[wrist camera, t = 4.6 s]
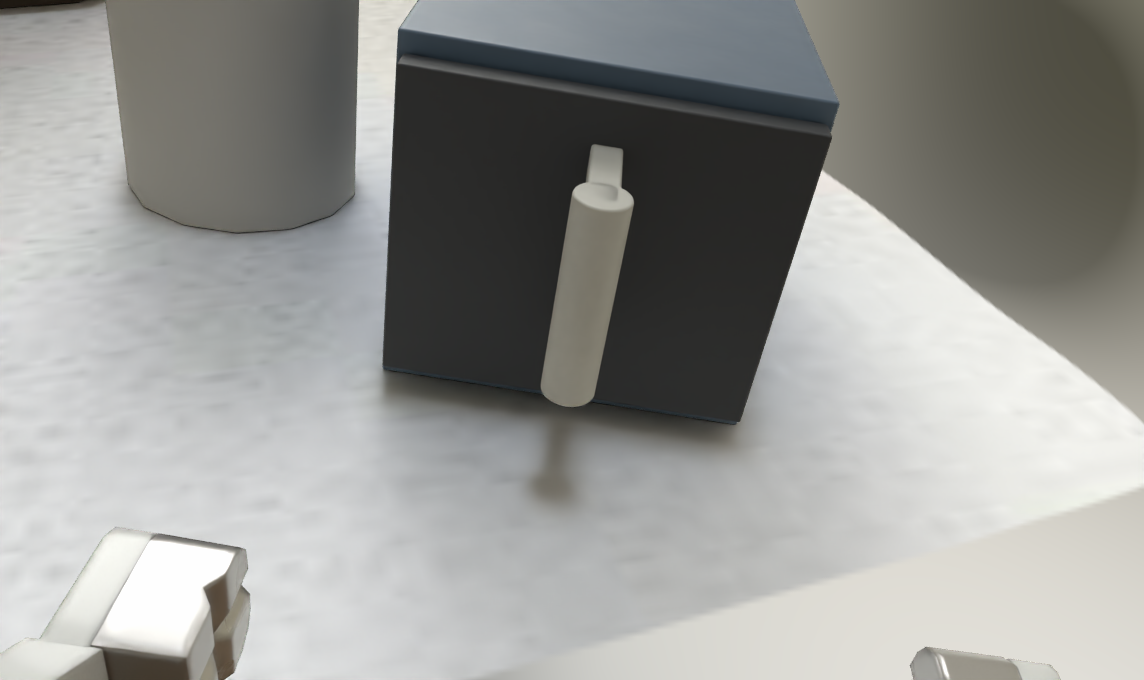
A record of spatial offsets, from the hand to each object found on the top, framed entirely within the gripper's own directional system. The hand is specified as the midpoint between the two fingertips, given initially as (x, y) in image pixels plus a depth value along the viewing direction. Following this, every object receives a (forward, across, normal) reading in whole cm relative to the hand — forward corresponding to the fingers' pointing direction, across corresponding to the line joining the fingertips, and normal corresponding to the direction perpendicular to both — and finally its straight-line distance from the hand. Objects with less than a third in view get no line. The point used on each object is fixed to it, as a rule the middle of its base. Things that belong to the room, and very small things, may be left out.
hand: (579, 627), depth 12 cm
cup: (+26, +13, +9) cm, 31 cm away
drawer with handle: (+20, 0, +8) cm, 21 cm away
